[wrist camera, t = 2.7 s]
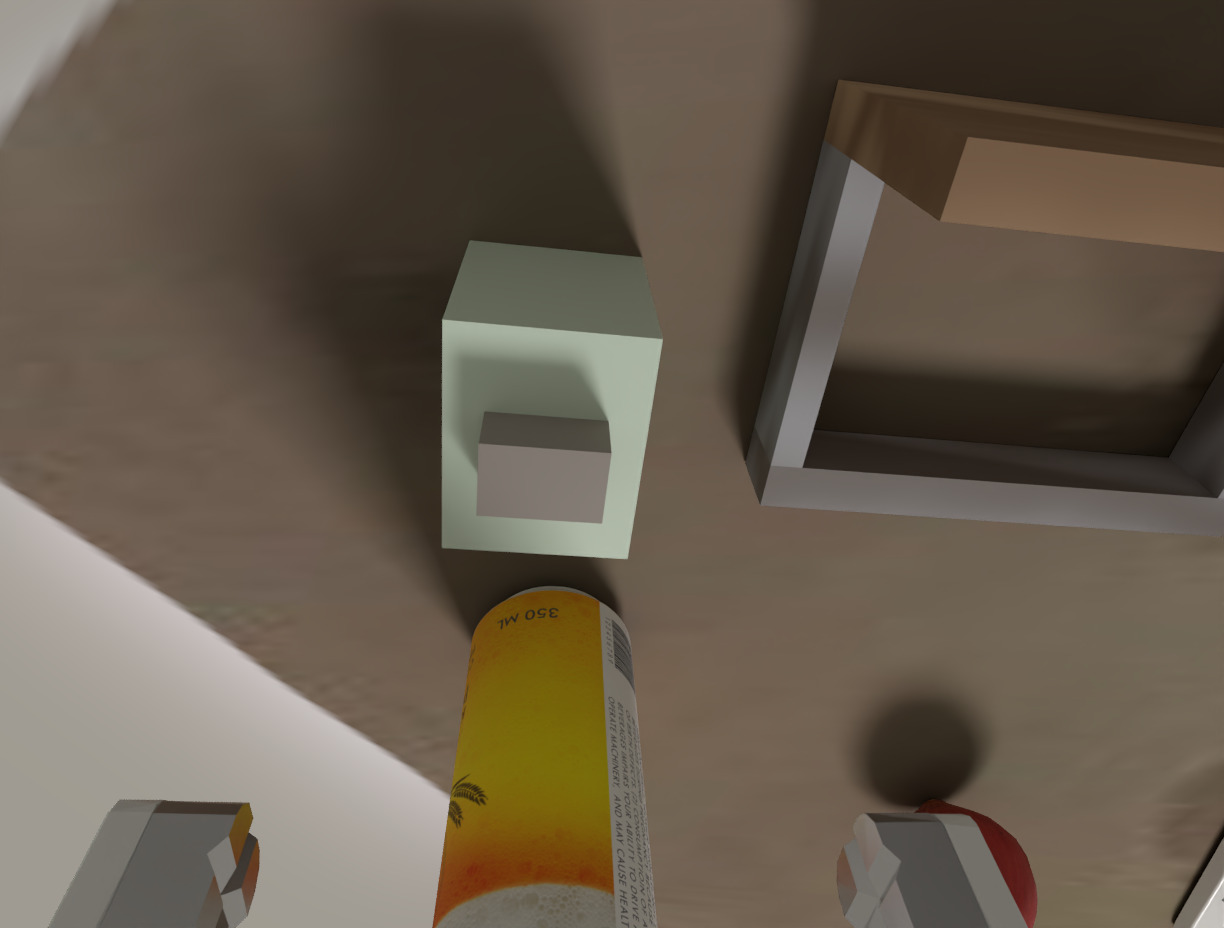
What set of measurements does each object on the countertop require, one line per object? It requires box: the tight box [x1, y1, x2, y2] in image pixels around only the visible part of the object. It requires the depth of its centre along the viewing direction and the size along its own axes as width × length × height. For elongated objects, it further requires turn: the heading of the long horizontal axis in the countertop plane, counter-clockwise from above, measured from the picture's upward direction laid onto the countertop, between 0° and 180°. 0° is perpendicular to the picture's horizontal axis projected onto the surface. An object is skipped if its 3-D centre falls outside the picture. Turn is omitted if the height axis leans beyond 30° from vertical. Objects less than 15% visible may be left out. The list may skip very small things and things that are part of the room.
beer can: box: [432, 586, 657, 928], centre depth 25 cm, size 6×6×15 cm
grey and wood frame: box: [745, 79, 1224, 537], centre depth 22 cm, size 12×16×8 cm
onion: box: [914, 799, 1037, 928], centre depth 35 cm, size 6×6×8 cm
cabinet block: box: [442, 240, 663, 559], centre depth 22 cm, size 6×5×8 cm
